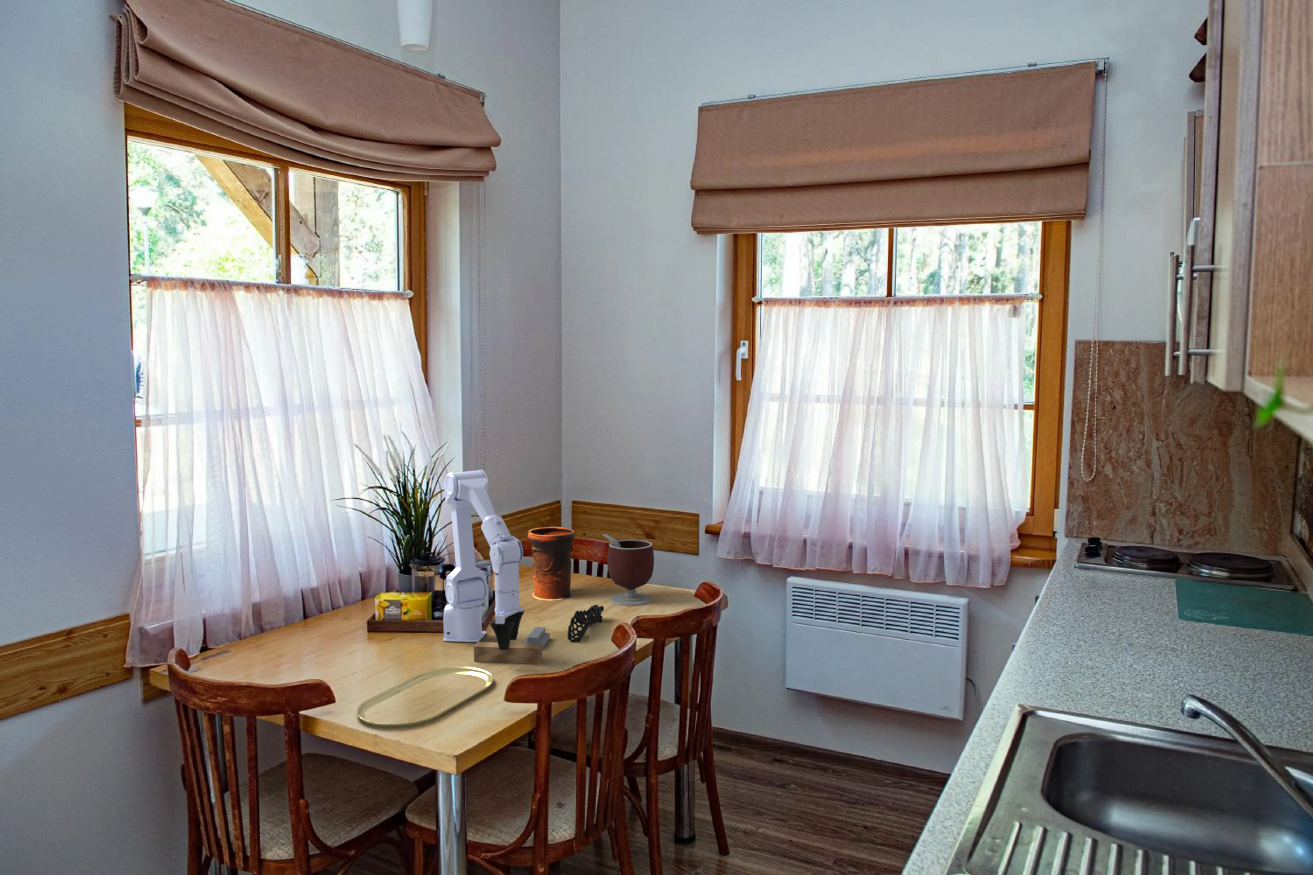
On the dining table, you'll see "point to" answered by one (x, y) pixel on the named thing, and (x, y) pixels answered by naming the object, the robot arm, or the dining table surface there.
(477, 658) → the beam
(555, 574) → the vessel
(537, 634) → the fulcrum
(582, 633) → the decorative element
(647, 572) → the mate gourd
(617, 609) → the dining table surface
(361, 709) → the serving platter
